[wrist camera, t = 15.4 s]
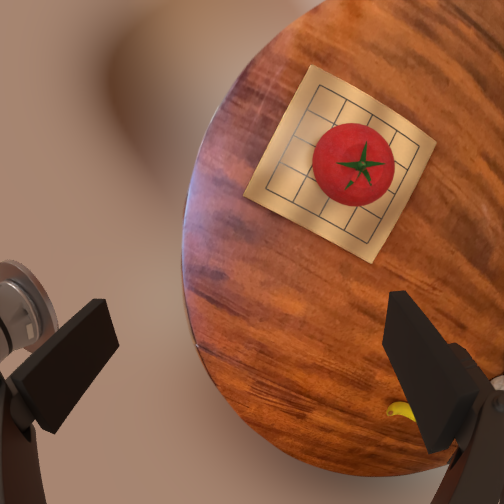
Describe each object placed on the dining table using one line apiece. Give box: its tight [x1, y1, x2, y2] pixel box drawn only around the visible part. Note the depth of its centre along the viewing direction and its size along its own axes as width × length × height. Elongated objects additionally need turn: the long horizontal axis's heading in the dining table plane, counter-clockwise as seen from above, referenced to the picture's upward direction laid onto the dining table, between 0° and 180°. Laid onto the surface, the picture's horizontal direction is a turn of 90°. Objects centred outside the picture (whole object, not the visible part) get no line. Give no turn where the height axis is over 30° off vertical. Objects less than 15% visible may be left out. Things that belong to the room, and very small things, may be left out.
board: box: [243, 64, 437, 264], centre depth 33 cm, size 18×18×1 cm
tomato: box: [312, 123, 395, 207], centre depth 28 cm, size 9×9×8 cm
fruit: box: [387, 402, 416, 422], centre depth 41 cm, size 10×2×5 cm, turn 62°
